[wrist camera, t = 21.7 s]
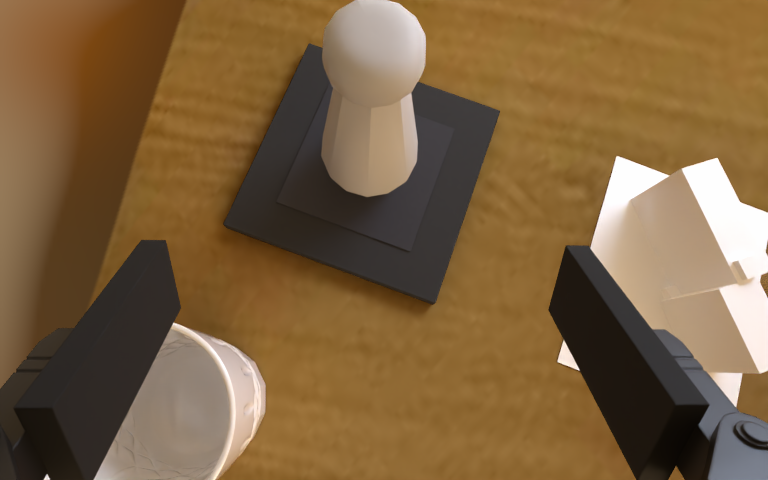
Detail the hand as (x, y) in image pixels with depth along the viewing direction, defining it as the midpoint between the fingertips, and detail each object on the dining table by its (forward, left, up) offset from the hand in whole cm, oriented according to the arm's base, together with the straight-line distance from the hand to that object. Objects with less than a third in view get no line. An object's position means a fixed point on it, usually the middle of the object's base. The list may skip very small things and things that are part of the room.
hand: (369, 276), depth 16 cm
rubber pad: (-6, +8, -14) cm, 17 cm away
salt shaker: (-6, +7, -13) cm, 16 cm away
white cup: (-4, -10, -14) cm, 18 cm away
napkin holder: (+14, +14, -14) cm, 25 cm away
